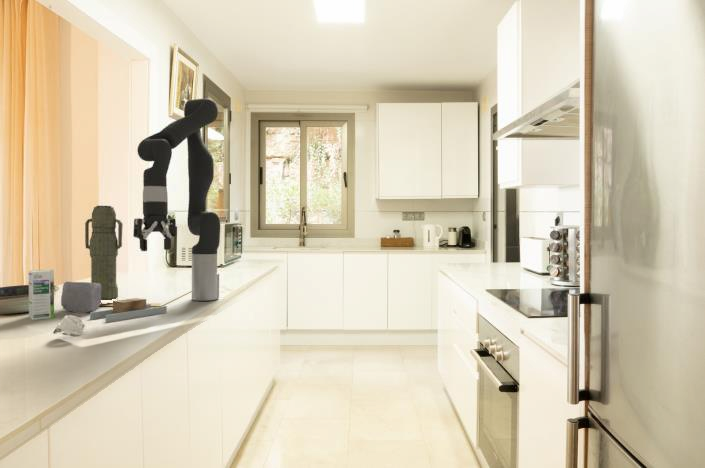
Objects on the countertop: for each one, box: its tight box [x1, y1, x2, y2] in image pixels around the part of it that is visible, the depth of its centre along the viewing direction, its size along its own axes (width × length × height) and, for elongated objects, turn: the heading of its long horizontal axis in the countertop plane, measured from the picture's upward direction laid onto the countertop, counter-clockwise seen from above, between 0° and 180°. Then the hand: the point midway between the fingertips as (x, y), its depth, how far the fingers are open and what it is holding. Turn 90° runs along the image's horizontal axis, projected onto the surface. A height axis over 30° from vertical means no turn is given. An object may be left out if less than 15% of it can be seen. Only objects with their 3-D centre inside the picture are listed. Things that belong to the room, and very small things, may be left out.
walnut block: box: [112, 297, 147, 314], centre depth 151 cm, size 8×5×5 cm, turn 151°
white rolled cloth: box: [52, 315, 86, 336], centre depth 125 cm, size 8×7×5 cm
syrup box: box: [28, 269, 55, 321], centre depth 146 cm, size 6×6×14 cm
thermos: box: [84, 205, 124, 300], centre depth 172 cm, size 9×12×35 cm
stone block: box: [60, 281, 101, 314], centre depth 156 cm, size 12×5×10 cm, turn 84°
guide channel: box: [89, 303, 168, 323], centre depth 151 cm, size 20×9×2 cm, turn 149°
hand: (155, 250), depth 159 cm, fingers open, 8 cm apart
